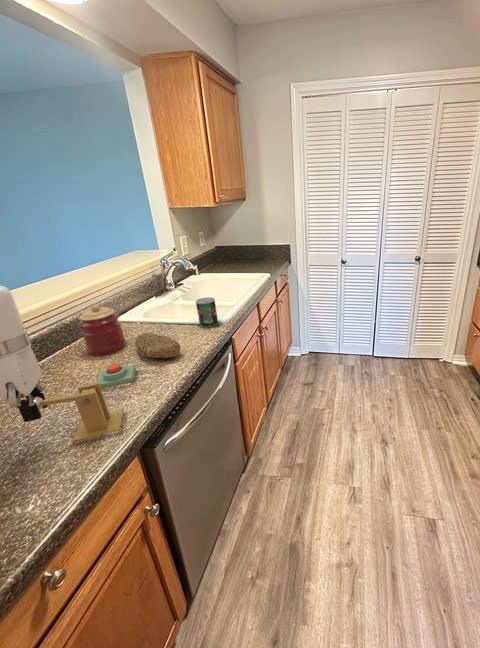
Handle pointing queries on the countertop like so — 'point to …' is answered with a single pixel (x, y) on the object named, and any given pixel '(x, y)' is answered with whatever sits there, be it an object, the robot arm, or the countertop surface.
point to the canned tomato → (207, 312)
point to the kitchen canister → (101, 330)
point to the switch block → (117, 376)
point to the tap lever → (56, 399)
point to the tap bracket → (95, 413)
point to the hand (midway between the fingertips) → (36, 413)
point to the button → (113, 368)
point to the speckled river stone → (157, 346)
